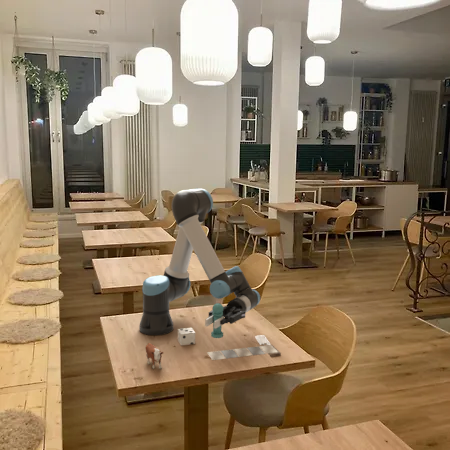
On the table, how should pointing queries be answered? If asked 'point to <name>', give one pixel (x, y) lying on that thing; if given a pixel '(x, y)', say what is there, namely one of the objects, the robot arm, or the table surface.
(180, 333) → the die
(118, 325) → the table surface
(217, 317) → the pawn
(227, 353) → the board
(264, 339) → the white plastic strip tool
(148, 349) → the bull figurine
